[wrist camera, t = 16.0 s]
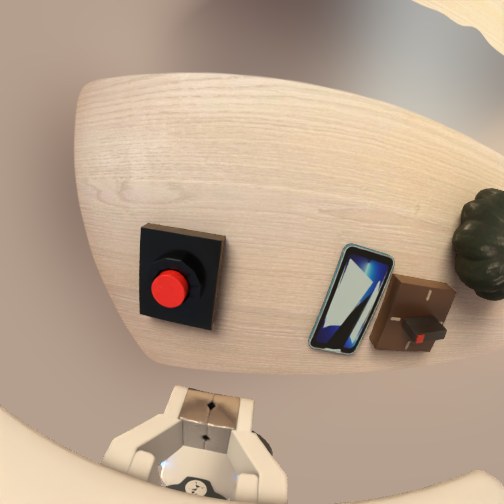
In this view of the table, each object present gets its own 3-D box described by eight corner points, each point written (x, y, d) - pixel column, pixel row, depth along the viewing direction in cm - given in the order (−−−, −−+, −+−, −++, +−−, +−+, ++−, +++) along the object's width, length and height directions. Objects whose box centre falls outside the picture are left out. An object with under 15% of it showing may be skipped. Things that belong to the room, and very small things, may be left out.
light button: (187, 304, 33) (183, 311, 31) (156, 297, 33) (151, 303, 31) (190, 273, 31) (185, 279, 30) (157, 266, 31) (151, 272, 30)
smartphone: (397, 258, 32) (353, 355, 36) (394, 256, 33) (352, 351, 37) (346, 242, 32) (306, 347, 36) (344, 240, 33) (305, 343, 37)
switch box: (214, 321, 37) (208, 338, 33) (145, 306, 37) (134, 320, 33) (225, 235, 34) (219, 245, 30) (148, 223, 34) (134, 230, 30)
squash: (501, 315, 29) (571, 281, 15) (435, 307, 29) (520, 261, 16) (490, 234, 34) (544, 186, 21) (427, 213, 35) (484, 147, 22)
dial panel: (422, 341, 36) (430, 352, 33) (369, 337, 37) (375, 350, 34) (446, 283, 33) (457, 292, 30) (392, 273, 34) (401, 282, 31)
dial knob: (433, 315, 32) (448, 330, 28) (431, 323, 32) (445, 340, 28) (404, 318, 32) (417, 335, 28) (401, 327, 33) (414, 344, 28)
